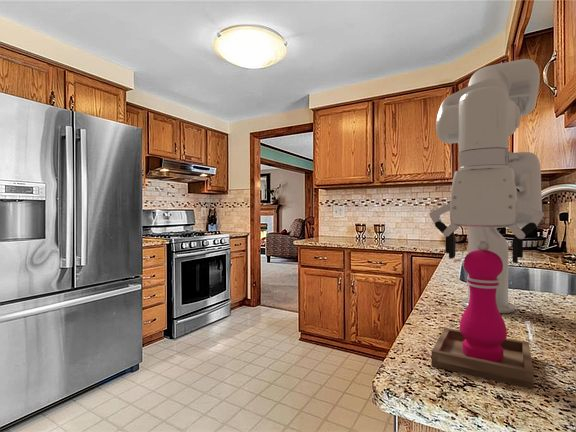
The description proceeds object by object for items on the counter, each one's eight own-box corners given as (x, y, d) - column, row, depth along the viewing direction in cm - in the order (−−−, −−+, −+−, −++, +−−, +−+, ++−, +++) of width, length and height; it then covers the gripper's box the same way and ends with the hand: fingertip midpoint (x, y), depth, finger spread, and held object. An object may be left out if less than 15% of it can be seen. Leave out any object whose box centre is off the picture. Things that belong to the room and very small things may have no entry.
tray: (444, 340, 69) (444, 327, 69) (528, 355, 61) (528, 342, 61) (431, 365, 57) (431, 351, 57) (533, 389, 50) (533, 372, 50)
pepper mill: (507, 352, 61) (507, 240, 60) (506, 367, 55) (506, 243, 54) (462, 343, 65) (462, 238, 64) (456, 357, 59) (457, 241, 58)
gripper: (542, 160, 58) (541, 260, 58) (433, 167, 67) (433, 253, 68) (546, 155, 51) (545, 267, 52) (425, 164, 61) (425, 259, 61)
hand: (482, 259), depth 60 cm, fingers open, 9 cm apart
